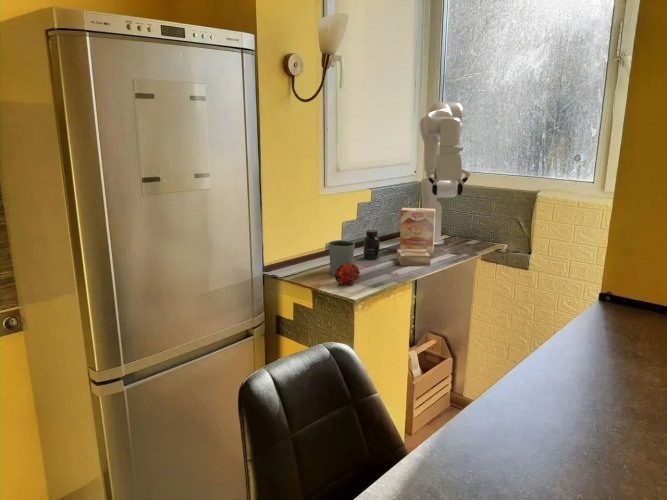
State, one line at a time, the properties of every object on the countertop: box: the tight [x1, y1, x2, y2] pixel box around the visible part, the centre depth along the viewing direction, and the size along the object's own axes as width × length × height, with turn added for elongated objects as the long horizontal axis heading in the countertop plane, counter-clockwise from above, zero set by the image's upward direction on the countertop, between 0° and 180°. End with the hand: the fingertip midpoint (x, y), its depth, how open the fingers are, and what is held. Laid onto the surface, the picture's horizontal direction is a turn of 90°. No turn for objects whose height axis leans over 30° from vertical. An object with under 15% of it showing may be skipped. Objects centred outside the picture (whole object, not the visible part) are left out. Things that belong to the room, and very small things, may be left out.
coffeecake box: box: [399, 207, 436, 255], centre depth 236 cm, size 15×7×20 cm, turn 76°
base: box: [396, 248, 432, 266], centre depth 220 cm, size 12×12×4 cm
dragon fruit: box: [333, 262, 361, 286], centre depth 189 cm, size 8×8×12 cm
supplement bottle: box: [363, 229, 381, 261], centre depth 225 cm, size 7×7×12 cm
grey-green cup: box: [328, 239, 356, 276], centre depth 203 cm, size 10×10×12 cm
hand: (447, 194), depth 206 cm, fingers open, 9 cm apart
